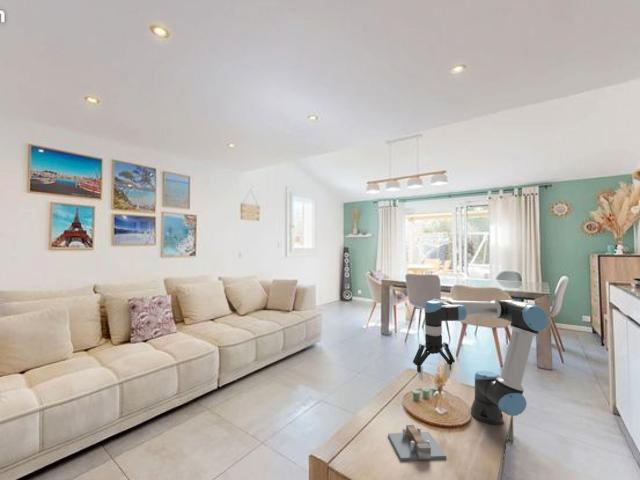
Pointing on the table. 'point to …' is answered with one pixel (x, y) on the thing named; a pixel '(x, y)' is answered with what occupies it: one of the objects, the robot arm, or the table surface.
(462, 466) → the table surface
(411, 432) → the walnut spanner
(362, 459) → the table surface
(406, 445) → the slate peg board
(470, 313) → the robot arm
